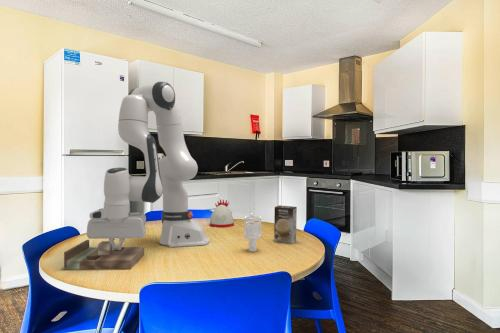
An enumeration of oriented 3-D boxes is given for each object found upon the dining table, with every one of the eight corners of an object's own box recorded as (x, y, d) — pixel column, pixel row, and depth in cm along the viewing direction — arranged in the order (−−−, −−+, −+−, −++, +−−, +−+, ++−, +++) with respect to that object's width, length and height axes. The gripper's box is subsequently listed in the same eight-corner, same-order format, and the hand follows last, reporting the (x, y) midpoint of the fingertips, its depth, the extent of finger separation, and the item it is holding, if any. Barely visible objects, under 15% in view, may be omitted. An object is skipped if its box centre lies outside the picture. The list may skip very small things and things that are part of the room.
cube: (113, 251, 126) (113, 241, 126) (109, 254, 122) (109, 243, 122) (102, 252, 125) (102, 241, 125) (98, 255, 121) (97, 244, 121)
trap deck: (144, 254, 133) (144, 239, 133) (130, 269, 115) (130, 251, 115) (86, 255, 132) (86, 239, 132) (64, 270, 114) (64, 252, 114)
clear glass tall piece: (259, 248, 144) (259, 212, 144) (262, 252, 137) (262, 215, 137) (242, 248, 143) (243, 213, 142) (245, 253, 136) (245, 215, 136)
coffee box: (273, 241, 155) (273, 206, 155) (278, 239, 161) (278, 205, 160) (292, 244, 151) (292, 208, 151) (296, 241, 157) (297, 206, 156)
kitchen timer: (233, 227, 188) (233, 200, 188) (208, 227, 188) (208, 200, 188) (234, 223, 202) (234, 198, 202) (211, 223, 202) (211, 197, 202)
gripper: (148, 211, 127) (147, 247, 127) (91, 211, 126) (91, 248, 126) (143, 213, 121) (143, 252, 121) (84, 213, 120) (84, 252, 120)
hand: (116, 250), depth 124 cm, fingers closed
